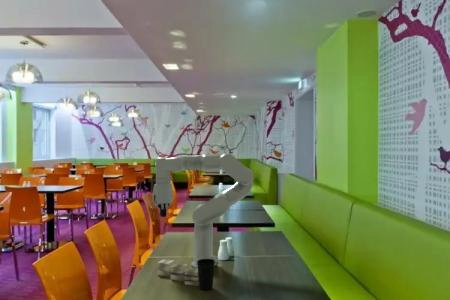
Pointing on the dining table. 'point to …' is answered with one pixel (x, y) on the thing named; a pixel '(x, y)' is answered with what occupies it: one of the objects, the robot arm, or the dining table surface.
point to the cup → (206, 274)
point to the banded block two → (191, 277)
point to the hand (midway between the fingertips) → (163, 216)
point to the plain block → (164, 267)
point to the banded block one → (178, 271)
